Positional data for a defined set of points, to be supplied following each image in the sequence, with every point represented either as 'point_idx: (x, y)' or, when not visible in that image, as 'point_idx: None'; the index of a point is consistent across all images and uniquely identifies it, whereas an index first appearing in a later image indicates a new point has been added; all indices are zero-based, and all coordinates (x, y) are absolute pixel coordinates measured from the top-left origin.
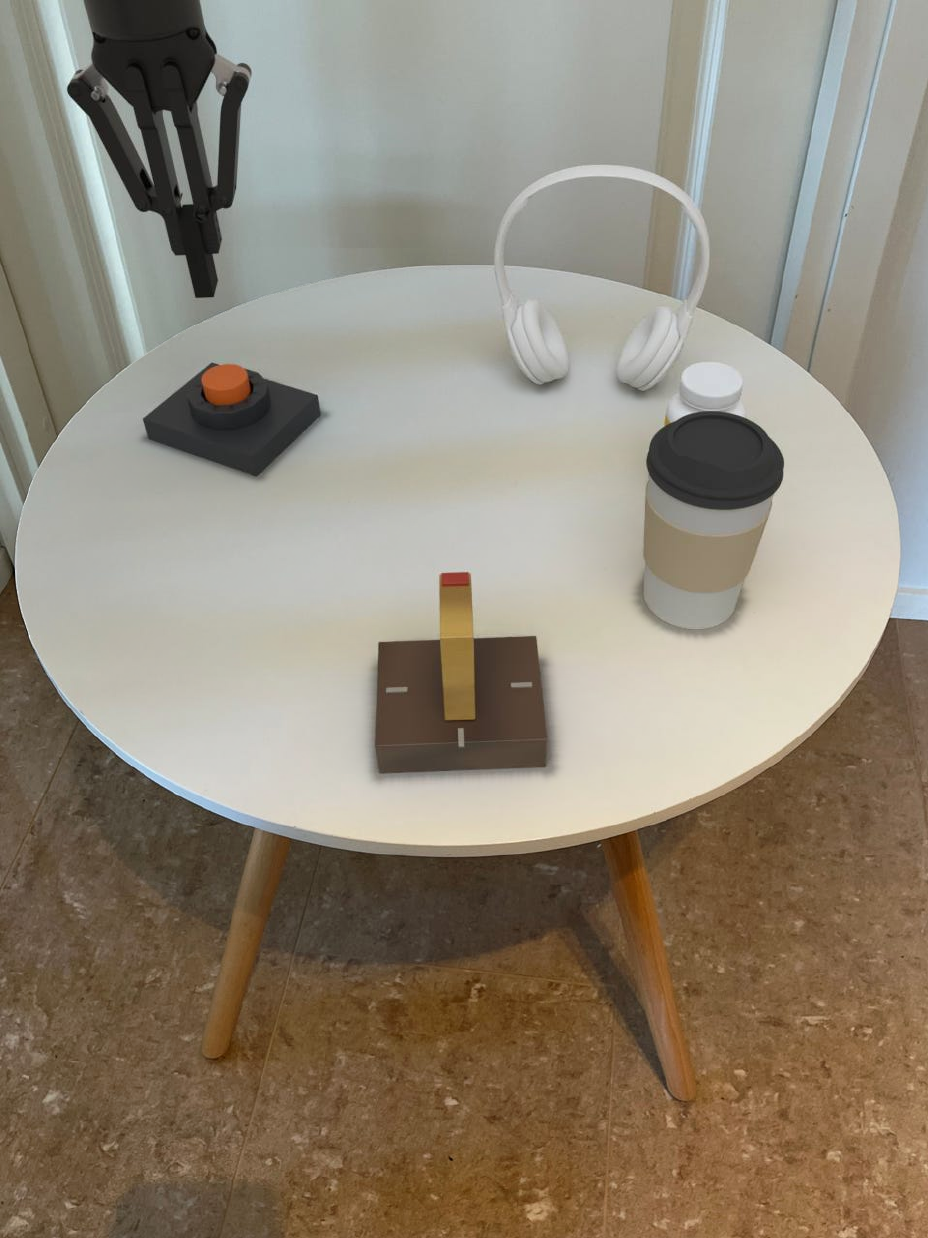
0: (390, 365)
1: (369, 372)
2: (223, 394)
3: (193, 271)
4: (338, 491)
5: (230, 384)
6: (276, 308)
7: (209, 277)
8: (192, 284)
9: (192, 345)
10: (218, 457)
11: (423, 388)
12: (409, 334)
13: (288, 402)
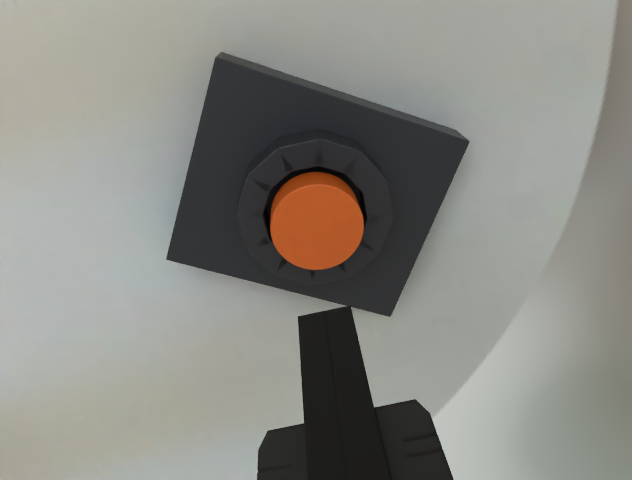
0: (112, 377)
1: (139, 356)
2: (305, 182)
3: (348, 359)
4: (50, 32)
5: (295, 204)
6: None
7: (300, 354)
8: (355, 329)
9: (450, 374)
10: (303, 81)
11: (32, 332)
12: (115, 449)
13: (210, 230)
